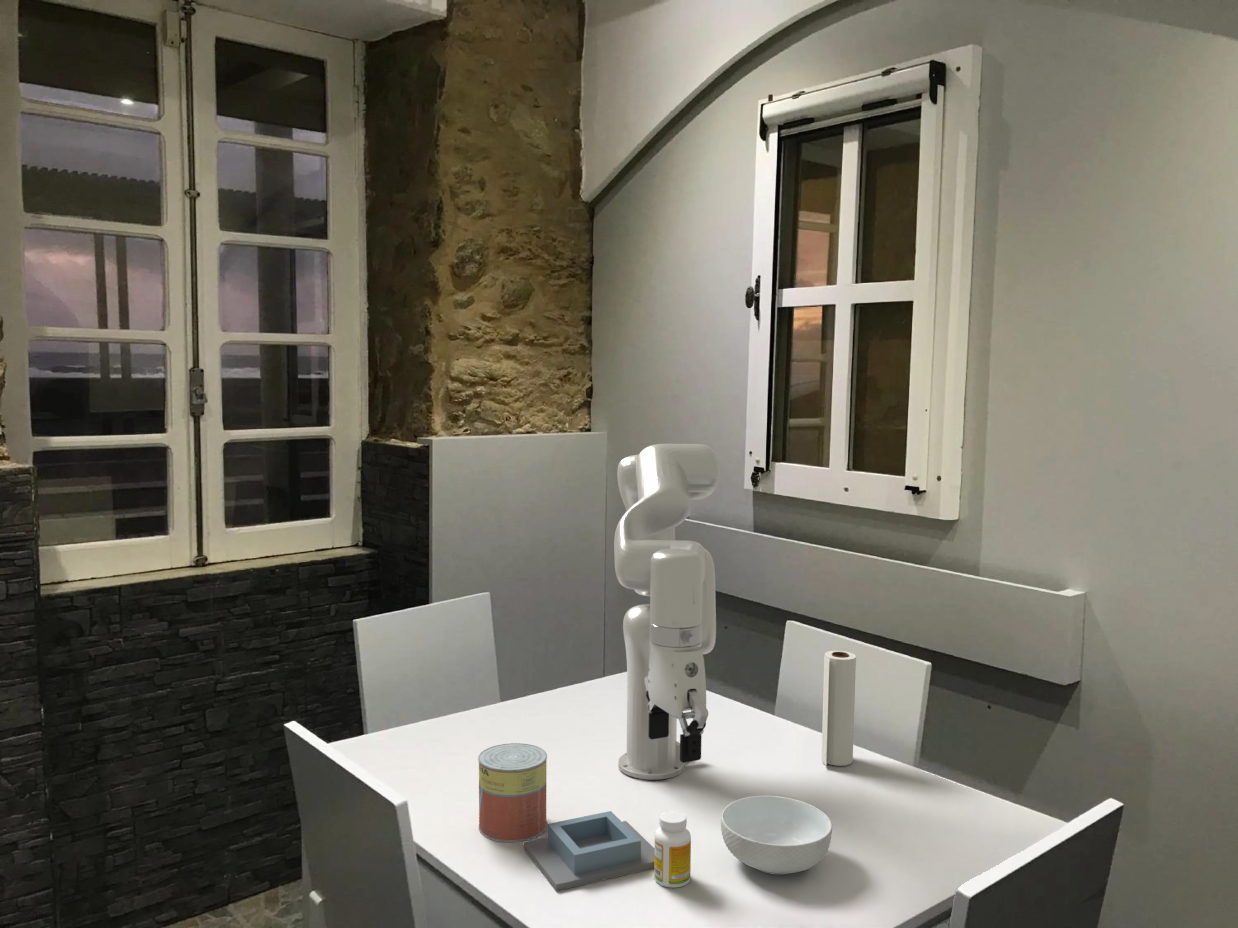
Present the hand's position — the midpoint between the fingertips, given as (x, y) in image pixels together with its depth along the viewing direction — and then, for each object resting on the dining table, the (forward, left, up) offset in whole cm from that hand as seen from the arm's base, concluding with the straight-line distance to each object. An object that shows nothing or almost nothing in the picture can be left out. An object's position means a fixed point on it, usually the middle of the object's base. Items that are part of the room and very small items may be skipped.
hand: (674, 748), depth 142 cm
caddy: (+8, -11, -20) cm, 24 cm away
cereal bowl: (-17, +2, -20) cm, 27 cm away
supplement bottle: (0, 0, -20) cm, 20 cm away
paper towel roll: (-50, -26, -20) cm, 60 cm away
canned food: (+16, -26, -20) cm, 37 cm away
